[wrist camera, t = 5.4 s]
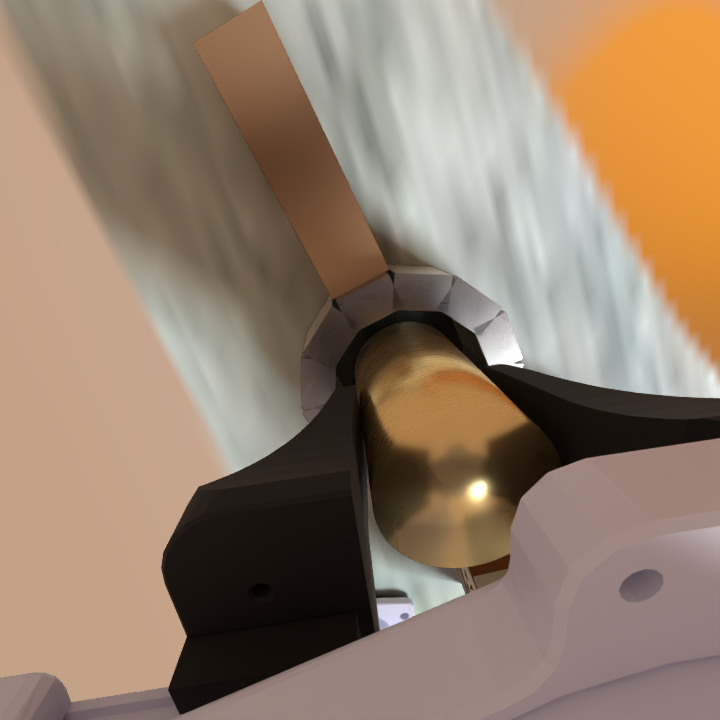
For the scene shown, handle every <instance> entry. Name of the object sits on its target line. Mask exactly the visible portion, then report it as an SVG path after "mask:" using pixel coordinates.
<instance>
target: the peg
mask: <svg viewBox="0 0 720 720" xmlns="http://www.w3.org/2000/svg"><path fill="white" fill-rule="evenodd" d="M355 382H356V389H357V397H358V404H359V411H360V418H361V426H362V433H363V440H364V447H365V455H366V462H367V469H368V477H369V484H370V491H371V498H372V506H373V513H374V516H375V520H376V523H377V525H378V527H379V529H380V532H381V533H382V534H383V536H384V537H385V539H386V540H387V541H388V542H389V543H390V544H391V545H392V546H393V547H394V548H395V549H396V550H397V551H399V552H400V553H401V554H403V555H405V556H407V557H408V558H410V559H412V560H415V561H417V562H419V563H423V564H426V565H430V566H436V567H443V568H464V567H471V566H476V565H481V564H485V563H488V562H491V561H494V560H497V559H499V558H501V557H503V556H506V555H508V554H509V553H510V540H511V526H512V523H513V520H514V517H515V514H516V511H517V508H518V505H519V502H520V499H521V498H522V497H523V495H524V494H525V493H527V492H528V491H529V490H530V489H531V488H532V487H533V486H534V485H535V484H536V483H537V482H538V481H539V480H540V479H541V478H542V477H543V476H544V475H546V474H547V473H548V472H550V471H553V470H555V469H558V468H561V467H562V466H561V462H560V458H559V455H558V453H557V450H556V448H555V446H554V445H553V443H552V442H551V440H550V439H549V438H548V436H547V435H546V434H545V433H544V432H543V431H542V430H541V429H540V428H539V427H538V426H537V425H536V424H535V423H534V422H533V421H532V420H531V419H530V418H529V417H528V416H527V415H526V414H525V413H524V412H523V411H521V410H520V409H519V408H518V407H517V406H516V405H515V404H514V403H513V402H512V401H511V400H510V399H509V398H508V397H507V396H506V395H505V394H504V393H503V392H502V391H501V390H500V389H499V388H498V387H497V386H496V385H495V384H494V383H493V382H492V381H491V380H490V379H489V378H488V377H487V376H485V375H484V374H483V373H482V372H481V371H480V370H479V369H478V368H477V367H476V366H475V365H474V364H473V363H472V362H471V361H470V360H469V359H468V358H467V357H466V356H465V355H464V354H463V353H462V352H461V351H460V350H459V349H458V348H457V347H456V346H455V345H454V344H453V343H452V342H451V341H449V340H448V339H447V338H446V337H445V336H444V335H443V334H442V333H441V332H440V331H438V330H437V329H435V328H433V327H431V326H429V325H426V324H423V323H418V322H400V323H396V324H392V325H389V326H387V327H385V328H383V329H381V330H379V331H378V332H377V333H375V334H374V335H373V336H372V337H371V338H369V339H368V341H367V342H366V343H365V344H364V346H363V347H362V349H361V351H360V353H359V355H358V357H357V361H356V365H355Z"/></svg>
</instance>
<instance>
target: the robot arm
mask: <svg viewBox="0 0 720 720" xmlns="http://www.w3.org/2000/svg"><path fill="white" fill-rule="evenodd" d="M482 373H483V374H484V375H485V376H487V377H488V378H489V379H490V380H491V381H492V382H493V383H494V384H495V385H496V386H497V387H498V388H499V389H500V390H501V391H502V392H503V393H504V394H505V395H506V396H507V397H508V398H509V399H510V400H511V401H512V402H513V403H514V404H515V405H516V406H517V407H518V408H519V409H520V410H521V411H523V412H524V413H525V414H526V415H527V416H528V417H529V418H530V419H531V420H532V421H533V422H534V423H535V424H536V425H537V426H538V427H539V428H540V429H541V430H542V431H543V432H544V433H545V434H546V435H547V436H548V438H549V439H550V440H551V442H552V443H553V445H554V446H555V448H556V450H557V453H558V455H559V458H560V462H561V466H562V467H561V468H558V469H555V470H553V471H550V472H548V473H547V474H546V475H544V476H543V477H542V478H541V479H540V480H539V481H538V482H537V483H536V484H535V485H534V486H533V487H532V488H531V489H530V490H529V491H528V492H527V493H525V494H524V495H523V497H522V498H521V499H520V502H519V505H518V508H517V511H516V514H515V517H514V520H513V523H512V526H511V540H510V562H509V568H508V572H507V573H506V575H505V576H503V577H502V578H501V579H500V580H498V581H496V582H493V583H491V584H489V585H486V586H484V587H482V588H479V589H477V590H475V591H472V592H470V593H468V594H465V595H463V596H460V597H458V598H456V599H453V600H451V601H449V602H446V603H444V604H442V605H439V606H437V607H435V608H432V609H430V610H427V611H425V612H423V613H420V614H418V615H416V616H413V614H414V605H413V601H412V600H411V599H410V598H407V597H394V598H376V594H375V586H374V577H373V569H372V561H371V552H370V544H369V534H368V502H367V463H366V456H365V449H364V441H363V434H362V427H361V420H360V413H359V406H358V399H357V392H356V385H351V386H344V387H337V388H336V389H335V390H334V392H333V393H332V395H331V396H330V398H329V399H328V401H327V402H326V403H325V405H324V406H323V407H322V409H321V410H320V411H319V413H318V414H317V415H316V416H315V417H314V418H313V420H312V421H311V422H310V423H309V424H308V425H307V426H306V427H305V428H304V429H303V430H302V431H301V432H300V433H298V434H297V435H296V436H295V437H294V438H293V439H291V440H290V441H289V442H287V443H286V444H284V445H283V446H282V447H280V448H279V449H277V450H276V451H274V452H273V453H271V454H270V455H268V456H266V457H265V458H263V459H261V460H259V461H258V462H256V463H254V464H252V465H250V466H248V467H246V468H244V469H242V470H240V471H238V472H235V473H233V474H231V475H228V476H226V477H223V478H221V479H218V480H216V481H213V482H211V483H208V484H206V485H203V486H200V487H198V489H197V490H196V492H195V494H194V496H193V497H192V499H191V500H190V502H189V504H188V505H187V507H186V509H185V511H184V513H183V515H182V517H181V519H180V521H179V523H178V525H177V527H176V529H175V531H174V533H173V535H172V537H171V538H170V540H169V542H168V544H167V546H166V548H165V550H164V553H163V559H162V567H161V568H162V573H163V577H164V582H165V585H166V588H167V590H168V592H169V595H170V597H171V600H172V602H173V604H174V607H175V609H176V611H177V614H178V616H179V618H180V621H181V623H182V626H183V628H184V630H185V633H186V635H187V638H186V641H185V644H184V646H183V649H182V652H181V655H180V657H179V660H178V663H177V666H176V669H175V671H174V674H173V677H172V680H171V682H170V685H169V687H165V688H159V689H152V690H146V691H140V692H133V693H128V694H121V695H114V696H108V697H102V698H96V699H89V700H83V701H77V702H71V701H70V698H69V695H68V692H67V690H66V688H65V686H64V685H63V683H62V682H61V681H60V680H59V679H58V678H56V677H55V676H53V675H50V674H47V673H28V674H22V675H16V676H9V677H3V678H0V720H720V398H692V397H675V396H664V395H652V394H643V393H634V392H627V391H620V390H614V389H608V388H602V387H597V386H591V385H587V384H582V383H578V382H574V381H569V380H565V379H561V378H557V377H554V376H550V375H546V374H543V373H539V372H535V371H532V370H528V369H524V368H520V367H516V366H512V365H506V364H497V365H490V366H484V367H482Z"/></svg>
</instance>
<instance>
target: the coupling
mask: <svg viewBox="0 0 720 720" xmlns="http://www.w3.org/2000/svg"><path fill="white" fill-rule="evenodd" d="M193 45H194V47H195V49H196V51H197V52H198V54H199V56H200V58H201V60H202V62H203V63H204V65H205V67H206V69H207V71H208V73H209V74H210V76H211V78H212V80H213V82H214V84H215V85H216V87H217V89H218V91H219V93H220V95H221V96H222V98H223V100H224V102H225V104H226V106H227V107H228V109H229V111H230V113H231V115H232V117H233V118H234V120H235V122H236V124H237V126H238V128H239V129H240V131H241V133H242V135H243V137H244V139H245V140H246V142H247V144H248V146H249V148H250V150H251V151H252V153H253V155H254V157H255V159H256V161H257V162H258V164H259V166H260V168H261V170H262V171H263V173H264V175H265V177H266V179H267V181H268V182H269V184H270V186H271V188H272V190H273V192H274V193H275V195H276V197H277V199H278V201H279V203H280V204H281V206H282V208H283V210H284V212H285V214H286V215H287V217H288V219H289V221H290V223H291V225H292V226H293V228H294V230H295V232H296V234H297V236H298V237H299V239H300V241H301V243H302V245H303V247H304V248H305V250H306V252H307V254H308V256H309V258H310V259H311V261H312V263H313V265H314V267H315V269H316V270H317V272H318V274H319V276H320V278H321V280H322V281H323V283H324V285H325V287H326V289H327V291H328V292H329V294H330V296H329V297H328V299H327V301H326V302H325V304H324V306H323V307H322V309H321V311H320V312H319V314H318V315H317V317H316V319H315V320H314V322H313V324H312V325H311V327H310V328H309V330H308V334H307V337H306V341H305V345H304V349H303V353H302V357H301V409H304V410H303V415H304V416H305V418H306V419H307V421H308V423H310V422H311V421H312V420H313V418H314V417H315V416H316V415H317V414H318V413H319V411H320V410H321V409H322V407H323V406H324V405H325V403H326V402H327V401H328V399H329V398H330V396H331V395H332V393H333V392H334V390H335V389H336V388H337V387H343V386H342V384H341V383H340V381H339V379H338V378H337V376H336V365H337V363H338V362H339V360H340V359H341V357H342V356H343V354H344V352H345V351H346V349H347V348H348V346H349V345H350V343H351V342H352V340H353V339H354V337H355V336H356V334H357V333H358V331H359V330H361V329H362V328H364V327H366V326H368V325H370V324H372V323H374V322H376V321H378V320H380V319H382V318H384V317H386V316H388V315H390V314H391V313H393V312H395V311H397V310H415V311H442V312H443V313H445V314H446V315H448V316H450V317H451V318H452V321H453V323H454V325H455V328H456V330H457V332H458V335H459V337H460V339H461V342H462V344H463V345H462V353H463V354H464V355H465V356H466V357H467V358H468V359H469V360H470V361H471V362H472V363H473V364H474V365H475V366H476V367H477V368H478V369H479V370H480V371H481V372H482V367H484V366H490V365H497V364H506V365H512V366H516V367H520V368H523V363H522V362H520V361H519V360H521V359H523V357H522V354H521V351H520V349H519V346H518V343H517V341H516V338H515V335H514V333H513V330H512V327H511V325H510V322H509V319H508V317H507V314H506V312H504V311H502V310H501V309H502V307H501V306H499V305H498V304H496V303H495V302H493V301H492V300H491V299H489V298H488V297H486V296H485V295H483V294H482V293H481V292H479V291H478V290H476V289H475V288H473V287H472V286H471V285H469V284H468V283H466V282H465V281H463V280H462V279H461V278H459V277H457V276H454V275H452V274H449V273H447V272H444V271H442V270H439V269H436V268H433V267H431V266H411V265H388V264H386V262H385V259H384V257H383V255H382V253H381V251H380V249H379V247H378V245H377V243H376V240H375V238H374V236H373V234H372V232H371V230H370V228H369V226H368V224H367V222H366V219H365V217H364V215H363V213H362V211H361V209H360V207H359V205H358V203H357V200H356V198H355V196H354V194H353V192H352V190H351V188H350V186H349V184H348V181H347V179H346V177H345V175H344V173H343V171H342V169H341V167H340V165H339V162H338V160H337V158H336V156H335V154H334V152H333V150H332V148H331V146H330V144H329V141H328V139H327V137H326V135H325V133H324V131H323V129H322V127H321V125H320V122H319V120H318V118H317V116H316V114H315V112H314V110H313V108H312V106H311V103H310V101H309V99H308V97H307V95H306V93H305V91H304V89H303V87H302V85H301V82H300V80H299V78H298V76H297V74H296V72H295V70H294V68H293V66H292V63H291V61H290V59H289V57H288V55H287V53H286V51H285V49H284V47H283V44H282V42H281V40H280V38H279V36H278V34H277V32H276V30H275V28H274V25H273V23H272V21H271V19H270V17H269V15H268V13H267V11H266V9H265V7H264V4H263V2H262V0H261V1H260V2H258V3H256V4H255V5H253V6H252V7H250V8H249V9H247V10H245V11H244V12H242V13H241V14H239V15H237V16H236V17H234V18H233V19H231V20H230V21H228V22H226V23H225V24H223V25H222V26H220V27H219V28H217V29H215V30H214V31H212V32H211V33H209V34H208V35H206V36H204V37H203V38H201V39H200V40H198V41H197V42H195V43H193ZM358 406H359V404H358ZM359 413H360V411H359ZM360 420H361V418H360ZM361 427H362V426H361ZM362 434H363V433H362ZM363 441H364V440H363ZM364 449H365V447H364ZM365 456H366V455H365ZM366 463H367V462H366ZM367 474H368V469H367Z"/></svg>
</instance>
